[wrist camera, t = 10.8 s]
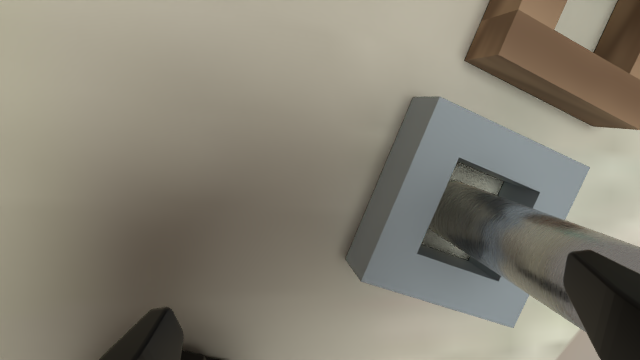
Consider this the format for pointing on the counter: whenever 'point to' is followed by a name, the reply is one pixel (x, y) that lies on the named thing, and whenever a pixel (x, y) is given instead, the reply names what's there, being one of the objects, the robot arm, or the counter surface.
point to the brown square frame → (564, 60)
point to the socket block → (426, 192)
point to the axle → (522, 242)
